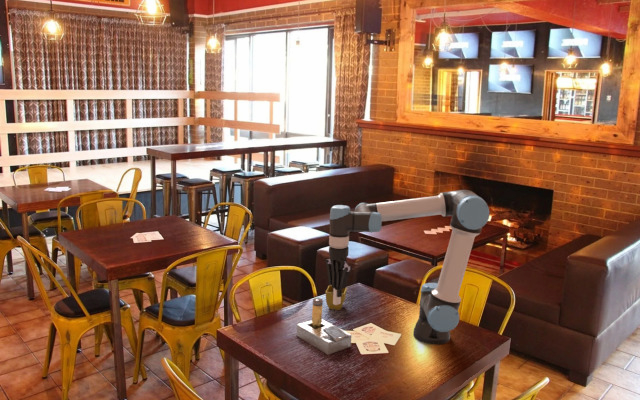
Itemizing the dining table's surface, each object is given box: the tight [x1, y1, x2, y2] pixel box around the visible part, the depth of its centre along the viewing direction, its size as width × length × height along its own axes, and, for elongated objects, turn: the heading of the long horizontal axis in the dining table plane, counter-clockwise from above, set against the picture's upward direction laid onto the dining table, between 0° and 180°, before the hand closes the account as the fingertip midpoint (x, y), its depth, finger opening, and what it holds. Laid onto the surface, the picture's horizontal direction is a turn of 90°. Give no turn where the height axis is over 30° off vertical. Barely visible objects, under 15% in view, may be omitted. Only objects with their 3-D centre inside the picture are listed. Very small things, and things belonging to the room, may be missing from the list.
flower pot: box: [325, 285, 348, 311], centre depth 264 cm, size 9×9×9 cm
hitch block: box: [296, 318, 353, 355], centre depth 230 cm, size 20×12×5 cm, turn 40°
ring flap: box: [323, 324, 349, 342], centre depth 224 cm, size 9×7×1 cm
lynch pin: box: [311, 297, 324, 329], centre depth 232 cm, size 4×4×16 cm
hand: (336, 303), depth 222 cm, fingers closed
